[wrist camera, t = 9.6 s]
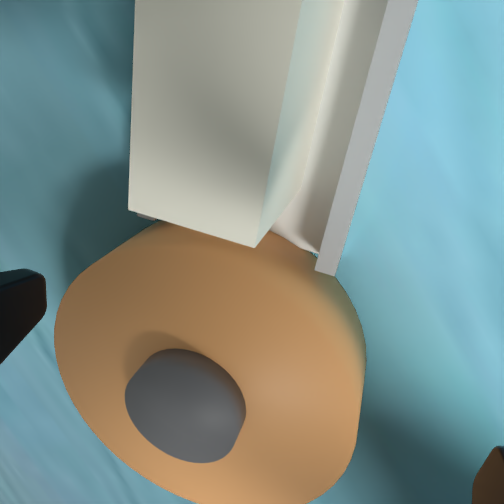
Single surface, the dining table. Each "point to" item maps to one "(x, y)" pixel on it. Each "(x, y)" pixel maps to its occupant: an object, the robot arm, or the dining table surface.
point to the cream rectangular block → (225, 109)
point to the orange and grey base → (242, 317)
